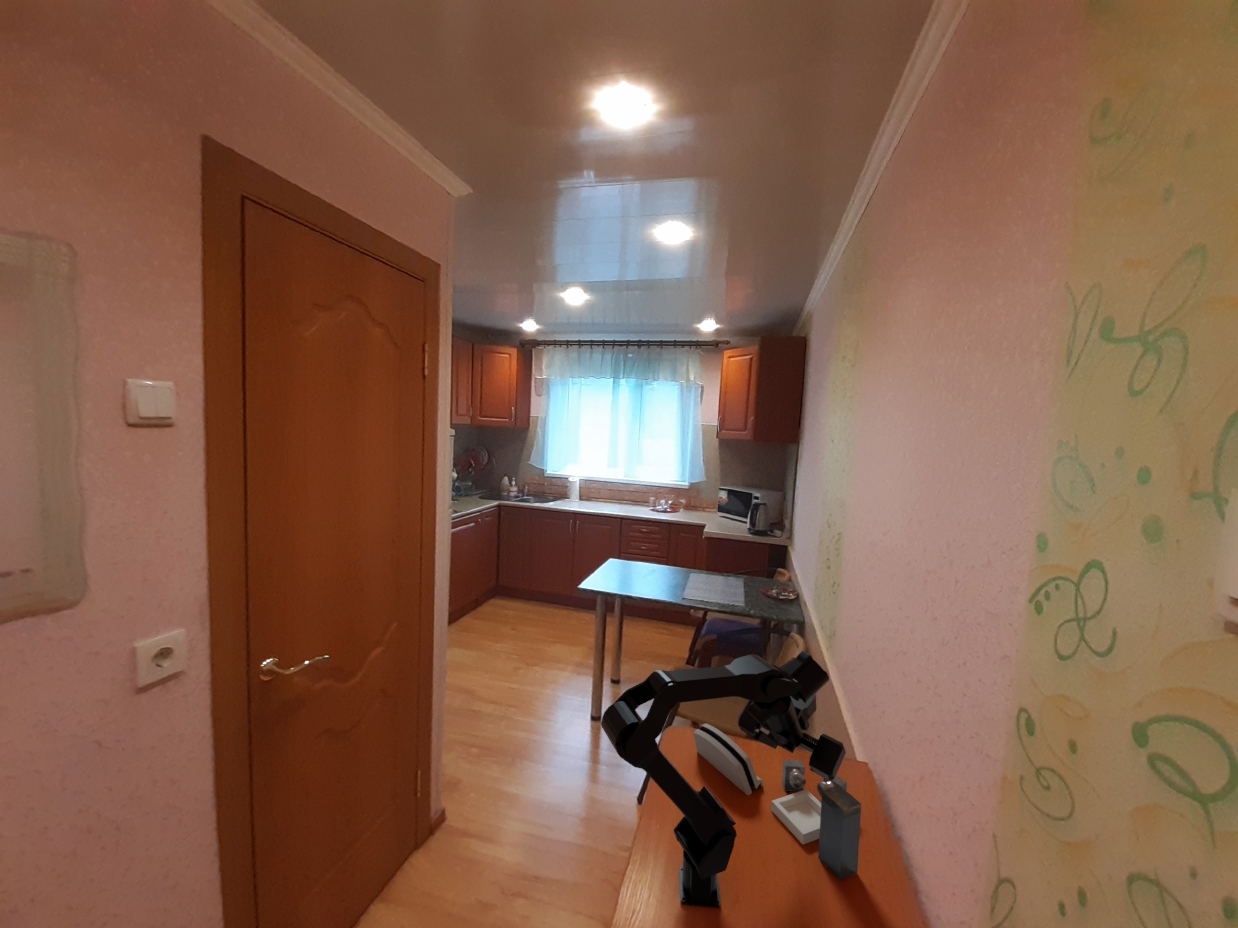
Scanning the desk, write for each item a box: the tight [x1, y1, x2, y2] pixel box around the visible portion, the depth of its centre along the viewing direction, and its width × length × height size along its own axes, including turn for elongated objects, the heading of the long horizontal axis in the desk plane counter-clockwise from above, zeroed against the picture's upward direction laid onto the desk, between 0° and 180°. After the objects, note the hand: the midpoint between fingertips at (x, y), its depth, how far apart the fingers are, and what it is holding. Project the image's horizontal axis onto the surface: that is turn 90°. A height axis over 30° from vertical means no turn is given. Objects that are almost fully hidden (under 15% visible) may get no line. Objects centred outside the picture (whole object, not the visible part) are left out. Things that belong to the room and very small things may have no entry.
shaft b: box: [781, 759, 807, 792], centre depth 108 cm, size 5×4×6 cm
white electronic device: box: [693, 723, 764, 796], centre depth 114 cm, size 17×5×10 cm, turn 31°
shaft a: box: [816, 774, 848, 798], centre depth 105 cm, size 5×4×6 cm
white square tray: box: [770, 788, 821, 846], centre depth 101 cm, size 9×9×2 cm
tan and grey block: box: [817, 785, 862, 882], centre depth 90 cm, size 5×4×13 cm
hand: (797, 758), depth 98 cm, fingers open, 9 cm apart
